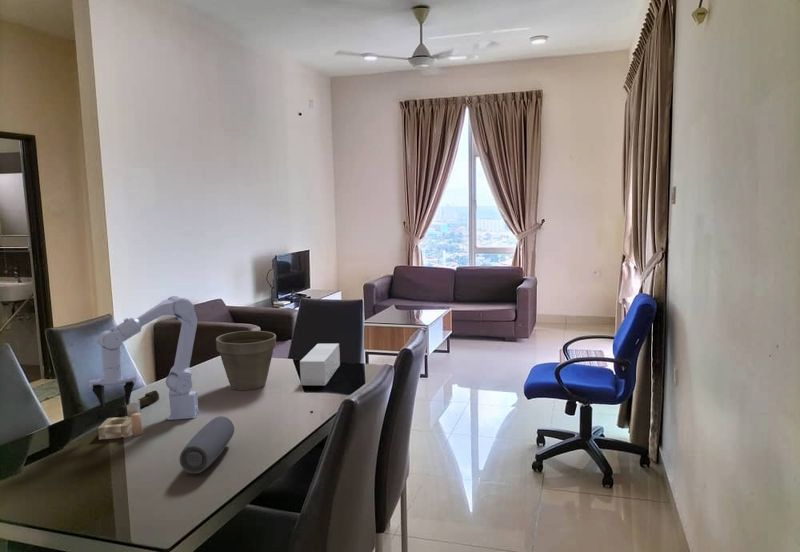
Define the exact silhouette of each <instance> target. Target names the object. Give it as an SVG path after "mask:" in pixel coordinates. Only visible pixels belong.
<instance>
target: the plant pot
mask: <svg viewBox="0 0 800 552" xmlns="http://www.w3.org/2000/svg"><path fill="white" fill-rule="evenodd" d="M215 345H216V351H217V352H218V353H219V355H220V359H221V362H222V365H223V368H224V371H225V374H226V377H227V379H228V383H229V387H230V388H231V389H233V390H234V391H235V390H237V391H253V390H257V389H260V388H262V387H264V386H265V385H266V383H267V380H268V375H269V371H270V367H271V366H270V365H271V363H272V358H273V351H274V349H275V348H276V346H277V335H276V334H275V333H274V332H272V331H265V330H264V331H263V330H243V331H242V330H241V331H234V332H233V331H232V332H227V333H224V334H221V335H219V336H217V337H216V338H215Z"/></svg>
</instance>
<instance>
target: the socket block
mask: <svg viewBox="0 0 800 552" xmlns="http://www.w3.org/2000/svg"><path fill="white" fill-rule="evenodd" d="M97 430H98V440H109V439H110V440H111V439H120V438H121V437H124V438H128V437H130V435H131V434H132V433H131V432H132V422H131V416H130V417H128V416H119V417H118V416H117V417H116V416H115V417H107V418H106V419H105V420H104V421H103V422H102V423H101V424H100V425H99V426H98V428H97ZM130 433H131V434H130Z"/></svg>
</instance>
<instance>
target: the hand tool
mask: <svg viewBox="0 0 800 552" xmlns="http://www.w3.org/2000/svg"><path fill="white" fill-rule="evenodd" d="M137 400H140V409H141V408H143V407H145V406H149V405H153V404H155V403H156V402H158V401H159V400H160V394H159V392H158V391H157V390H151V391H149V392H147V393H145V395H144V396H143V397H141V398H138V399H137ZM117 415H118V416H119V415H121V416H120V417H126V415H127V405H126V404H123V405H121V406H117Z"/></svg>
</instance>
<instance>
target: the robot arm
mask: <svg viewBox="0 0 800 552" xmlns="http://www.w3.org/2000/svg"><path fill="white" fill-rule="evenodd" d="M196 313H197V312H196V310H195V305H194V303H192V302H191V301H190V299H188V298H184V297H179V296H176V295H171V296H169V297H168V298H166V299H164V300H162V301H160V302H159V303H157V304H156V305H154V306H153V307H152V308H150V309H149V310H147V311H146V312H144V313H143V314H141V315H139V316H138V317H135V318H133V317H129V318H125V319H123V322H121V323H119V324H117V325H116V326H111V327H110V330H105V331H103V332H101V333H100V335H99V336H98V339H97V342H98V345H100V347H101V348H100V349H101V362H102V373H103V374H102V375H103V378H96V379H91V380H89V381H88V386H89V388H92V392H93V393H94V395H95V396H96V398H97V399H98V402H99V404H100V406H101V408H104V407H105V406H106V400H105V386H111V385H114V386H115V385H123V389H124V394H125V395H124V396H125V405H129V403H130V400H131V395H132V391H133V389H134V386H135V384H137V383H138V376H137V375H135V376H133V375H132V376H130V375H129V376H127V375H125V376H124V375H123V364H122V355H121V354H122V353H121V346H122V344H123V342H125V341H127V340H129V339H130V338H132V337H134V336H135V335H137V334H139V333H140V332H141V331H142V328H143V327H144V326H145V325H147V324H149V323H151V322H152V321H155V320H156V319H158V318H160V317H162V316H175V317H176V319H177V320H178V321H179V322H180V324H181V325H180V331H179V337H178V341H177V347H176V353H175V358H174V364H173V366H172V367H171V368H170V369H169V370H170V371H169V374H168V375H167V377H166V378H165V385H166V387H167V388H168V389H169V392H168V395H169V396H168V397H169V399H168V400H169V409H170V414H169V416H168V418H167V421H173V420H185V419H194V418H196V416H197V414H198V413H199V411H200V410H199V402H198V400H199V399H198V392H197V391H196V390H195V391H194V390H191V389H192V387H193V381H192V372H191V369H190V366H191V360H192V355H193V350H194V343H195V338H196V333H197V326H198V322H199V321H198V317H197V314H196Z"/></svg>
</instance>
